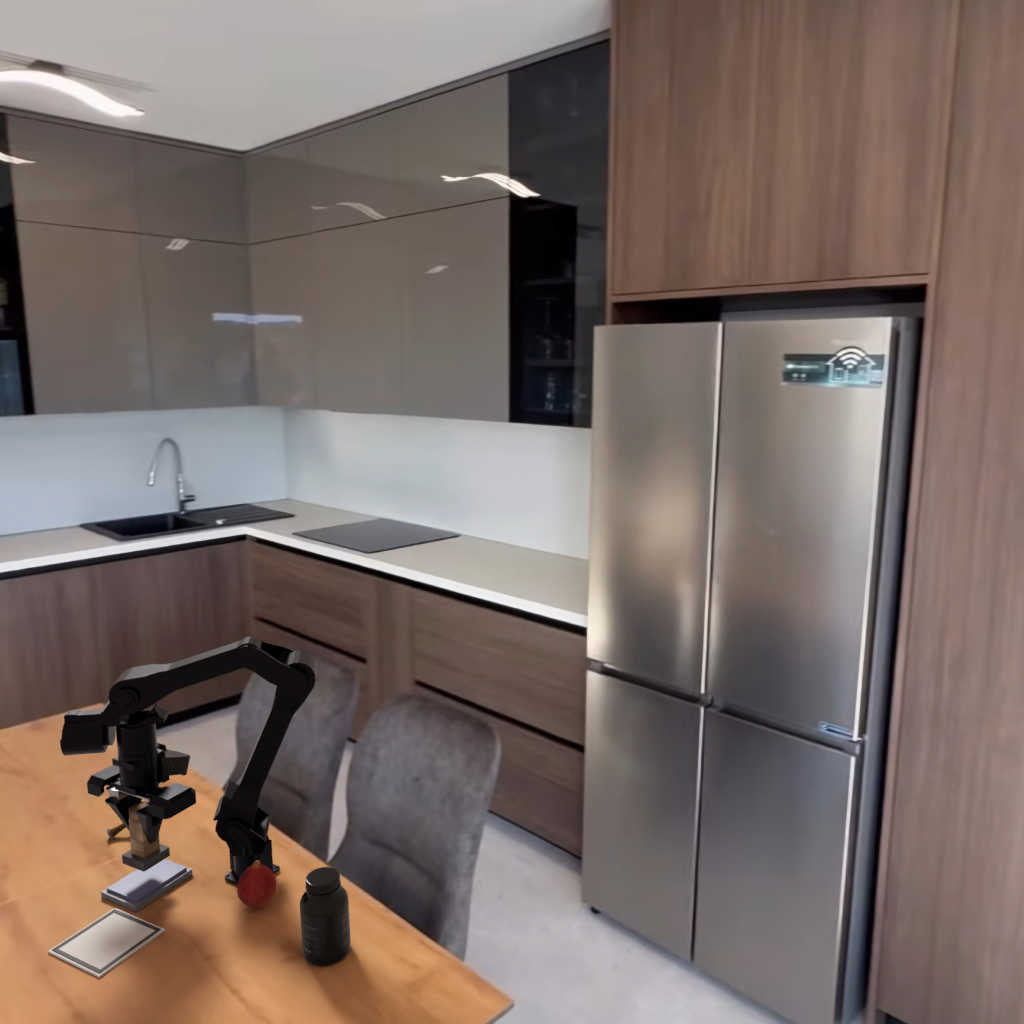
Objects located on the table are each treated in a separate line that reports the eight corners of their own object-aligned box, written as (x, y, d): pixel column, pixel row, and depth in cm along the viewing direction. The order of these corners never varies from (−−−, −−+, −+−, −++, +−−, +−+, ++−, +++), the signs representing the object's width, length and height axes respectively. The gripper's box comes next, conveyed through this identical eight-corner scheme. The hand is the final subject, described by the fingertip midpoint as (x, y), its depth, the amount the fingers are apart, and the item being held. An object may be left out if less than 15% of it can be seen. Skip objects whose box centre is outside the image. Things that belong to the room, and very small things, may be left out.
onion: (237, 922, 126) (234, 874, 124) (239, 899, 131) (236, 853, 130) (277, 916, 127) (275, 868, 126) (277, 893, 133) (275, 847, 131)
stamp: (169, 855, 135) (166, 803, 133) (144, 871, 131) (139, 818, 129) (148, 847, 137) (144, 796, 136) (122, 863, 133) (118, 811, 131)
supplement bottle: (330, 929, 124) (327, 856, 122) (360, 949, 120) (358, 873, 118) (292, 954, 119) (288, 877, 117) (322, 975, 115) (319, 897, 113)
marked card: (164, 930, 124) (164, 928, 124) (99, 977, 114) (98, 975, 114) (115, 909, 129) (114, 907, 129) (48, 952, 119) (47, 950, 119)
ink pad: (192, 874, 138) (191, 866, 137) (136, 912, 128) (135, 903, 128) (158, 861, 141) (158, 853, 141) (101, 897, 132) (100, 889, 131)
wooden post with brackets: (162, 823, 152) (149, 805, 150) (119, 851, 149) (106, 832, 147) (160, 819, 153) (148, 801, 152) (118, 846, 150) (105, 828, 149)
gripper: (219, 740, 134) (225, 829, 136) (140, 718, 142) (147, 803, 145) (162, 769, 124) (170, 864, 126) (81, 744, 132) (89, 834, 135)
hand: (145, 839), depth 133 cm, fingers closed on stamp, 3 cm apart
